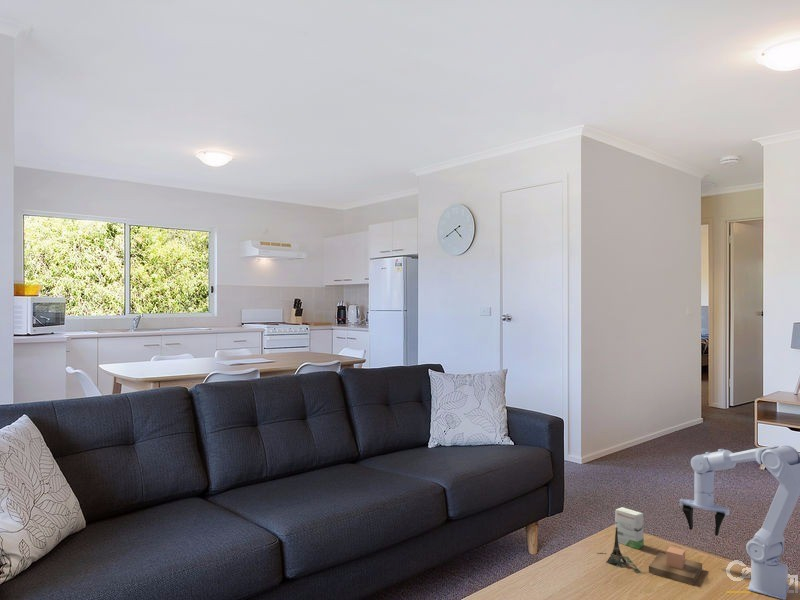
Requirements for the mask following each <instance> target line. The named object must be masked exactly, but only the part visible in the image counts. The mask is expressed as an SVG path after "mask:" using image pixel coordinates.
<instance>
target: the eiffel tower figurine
mask: <svg viewBox="0 0 800 600" xmlns="http://www.w3.org/2000/svg"><path fill="white" fill-rule="evenodd" d="M614 529H616V533H615V534H614V544H613V549H612V551H611V553H610V556H609V557H608V559H607V560H606V561H605V564H608V565H611V566H614V567H617V568H619V569H622V568H623V567H624V566H626V565H628V566H629V565H630V566H632V567H634V568H635V569H634V570H633V572H634V573H635V574H637V575H638V574H642V572H641V571H640V569H639V568H638V567H637V566H636V565H635V563H634V562H633V561H632V560H631V559H630V558H629V557H628V556H625V555H623V553H621V549H620V548H621V547H620V546H619V544H620V543H618V533H617V529H618V528H617V524H616V528H614ZM596 554H597V555H607V552H596Z"/></svg>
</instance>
